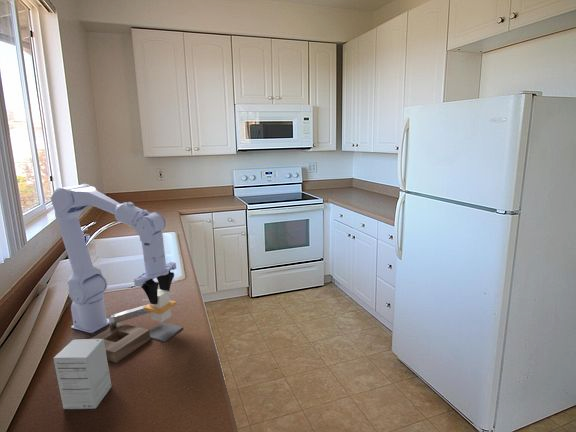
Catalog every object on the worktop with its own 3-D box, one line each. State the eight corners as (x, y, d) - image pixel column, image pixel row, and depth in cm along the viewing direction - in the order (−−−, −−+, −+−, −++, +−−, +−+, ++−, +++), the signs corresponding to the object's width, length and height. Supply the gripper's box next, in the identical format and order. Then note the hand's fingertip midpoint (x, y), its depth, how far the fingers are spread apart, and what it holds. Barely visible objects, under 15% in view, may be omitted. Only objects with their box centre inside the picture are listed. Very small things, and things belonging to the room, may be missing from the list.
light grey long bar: (111, 329, 106) (109, 318, 105) (109, 326, 107) (107, 315, 106) (157, 314, 113) (156, 304, 113) (155, 312, 115) (154, 302, 114)
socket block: (84, 353, 100) (82, 343, 99) (120, 331, 110) (118, 322, 110) (116, 362, 95) (114, 352, 94) (150, 339, 106) (149, 329, 105)
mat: (143, 336, 107) (143, 335, 107) (162, 323, 114) (162, 322, 114) (164, 342, 104) (164, 340, 104) (183, 328, 111) (182, 326, 111)
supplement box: (81, 387, 86) (73, 338, 83) (112, 386, 86) (105, 337, 83) (61, 410, 79) (51, 357, 76) (95, 409, 78) (86, 357, 76)
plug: (145, 320, 106) (142, 295, 105) (160, 311, 112) (158, 286, 110) (162, 324, 104) (159, 298, 102) (177, 314, 110) (174, 289, 108)
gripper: (145, 265, 96) (151, 313, 99) (182, 249, 109) (186, 292, 112) (126, 262, 99) (132, 309, 102) (163, 247, 112) (168, 289, 114)
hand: (159, 300), depth 107 cm, fingers closed on plug, 4 cm apart
